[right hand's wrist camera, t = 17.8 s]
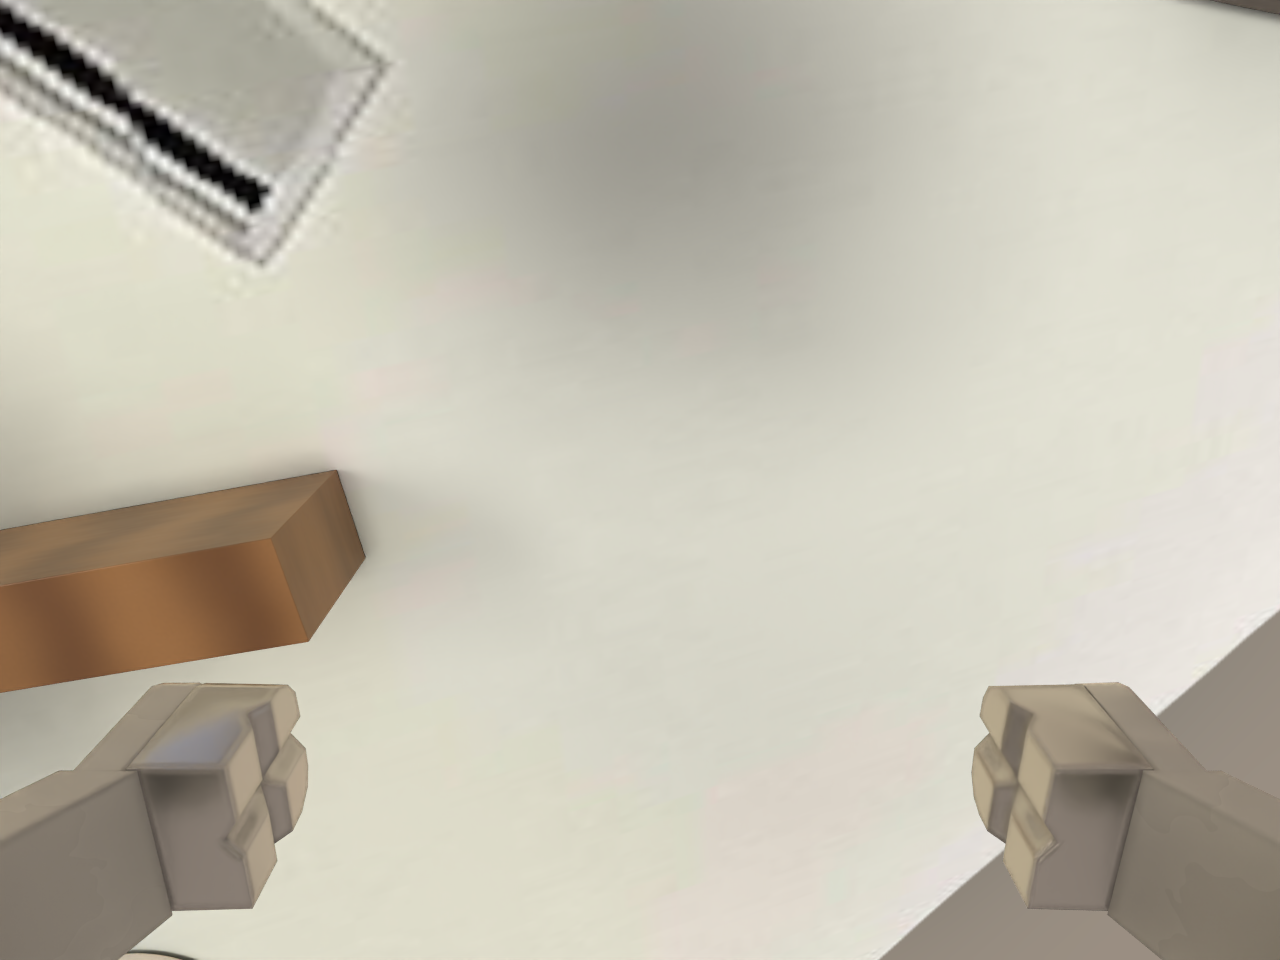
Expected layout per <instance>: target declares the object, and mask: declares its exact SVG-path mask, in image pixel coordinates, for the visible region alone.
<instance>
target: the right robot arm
mask: <svg viewBox="0 0 1280 960" xmlns="http://www.w3.org/2000/svg"><path fill="white" fill-rule="evenodd" d="M299 718H300V712H299V707H298V702H297V697H296V693H295V691H294V690H293V689H292V688H291V687H290V686H288V685H273V684H225V683H205V684H201V683H162V684H158V685H155V686H152V687H151V688H150V689H149V690H148V691H147V692H146V693H145V694H144V695H143V696H142V697H141V698H140V699H139V701H138V702H137V703H136V704H135V705H134V706H133V707H132V708H131V709H130V710H129V711H128V712H127V713H126V714H125V716H124V717H123V718H122V719H121V720H120V721H119V722H118V723H117V724H116V725H115V726H114V727H113V728H112V730H111V731H110V732H109V733H108V734H107V735H106V736H105V737H104V738H103V739H102V740H101V741H100V742H99V744H98V745H97V746H96V747H95V748H94V749H93V750H92V751H91V752H90V753H89V754H88V755H87V756H86V757H85V759H84V760H83V761H82V762H81V763H80V764H79V765H78V766H77V767H76V768H75V769H74V770H73V771H57V772H55V773H53V774H51V775H49V776H47V777H45V778H43V779H41V780H39V781H37V782H35V783H33V784H31V785H28V786H26V787H24V788H22V789H20V790H18V791H16V792H14V793H12V794H10V795H8V796H6V797H4V798H2V799H0V960H118V959H120V958H121V957H122V956H123V955H125V954H126V953H127V952H128V951H129V950H131V949H132V948H133V947H134V946H135V945H137V944H138V943H139V942H140V941H142V940H143V939H144V938H145V937H146V936H148V935H149V934H150V933H151V932H152V931H154V930H155V929H156V928H157V927H159V926H160V925H161V924H162V923H163V922H165V921H166V920H167V919H168V918H169V917H171V916H172V911H185V910H220V909H253V907H254V905H255V903H256V901H257V899H258V897H259V895H260V893H261V891H262V889H263V887H264V886H265V884H266V882H267V880H268V878H269V876H270V874H271V872H272V870H273V868H274V866H275V864H276V862H277V856H276V850H275V845H274V844H275V843H276V842H277V841H279V840H280V839H282V838H283V837H285V836H286V835H287V834H289V833H290V832H292V831H293V829H294V827H295V825H296V823H297V821H298V819H299V817H300V815H301V813H302V810H303V806H304V801H305V797H306V792H307V788H308V762H307V755H306V748H305V747H304V746H303V745H302V744H301V743H300V742H299V741H298V740H297V739H296V738H295V737H294V736H293V735H292V734H291V731H292V729H293V728H294V726H295V724H296V723H297V721H298V719H299ZM980 718H981V719H982V721H983V723H984V724H985V726H986V728H987V729H988V731H989V734H988V735H987V736H986V737H985V738H984V739H983V740H982V741H981V742H980V743H979V744H978V745H977V746H976V747H975V748H974V756H973V764H972V772H971V773H972V783H973V794H974V799H975V802H976V806H977V809H978V812H979V815H980V817H981V819H982V821H983V823H984V825H985V827H986V829H987V831H988V832H990V833H991V834H993V835H994V836H995V837H997V838H998V839H1000V840H1001V841H1003V842H1004V843H1005V844H1006V845H1005V850H1004V856H1003V862H1004V864H1005V866H1006V868H1007V870H1008V872H1009V874H1010V876H1011V878H1012V880H1013V882H1014V883H1015V885H1016V887H1017V889H1018V891H1019V893H1020V895H1021V897H1022V899H1023V901H1024V902H1025V904H1026V906H1027V908H1028V909H1059V910H1095V911H1108V915H1109V916H1110V917H1111V918H1112V919H1113V920H1115V921H1116V922H1117V923H1118V924H1119V925H1121V926H1122V927H1123V928H1124V929H1126V930H1127V931H1128V932H1129V933H1131V934H1132V935H1133V936H1134V937H1135V938H1136V939H1138V940H1139V941H1140V942H1141V943H1142V944H1144V945H1145V946H1146V947H1147V948H1149V949H1150V950H1151V951H1152V952H1153V953H1155V954H1156V955H1157V956H1158V957H1159V958H1161V959H1162V960H1280V799H1278V798H1276V797H1274V796H1272V795H1270V794H1268V793H1266V792H1264V791H1262V790H1260V789H1258V788H1256V787H1254V786H1251V785H1249V784H1247V783H1245V782H1243V781H1241V780H1239V779H1237V778H1235V777H1233V776H1231V775H1229V774H1227V773H1225V772H1223V771H1207V770H1206V769H1205V768H1204V767H1203V766H1202V765H1201V764H1200V763H1199V762H1198V761H1197V760H1196V759H1195V757H1194V756H1193V755H1192V754H1191V753H1190V752H1189V751H1188V750H1187V749H1186V748H1185V747H1184V746H1183V745H1182V743H1181V742H1180V741H1179V740H1178V739H1177V738H1176V737H1175V736H1174V735H1173V734H1172V733H1171V732H1170V731H1169V729H1168V728H1167V727H1166V726H1165V725H1164V724H1163V723H1162V722H1161V721H1160V720H1159V719H1158V718H1157V717H1156V715H1155V714H1154V713H1153V712H1152V711H1151V710H1150V709H1149V708H1148V707H1147V706H1146V705H1145V704H1144V703H1143V701H1142V700H1141V699H1140V698H1139V697H1138V696H1137V695H1136V694H1135V693H1134V692H1133V691H1132V690H1131V689H1130V687H1128V686H1125V685H1123V684H1121V683H1119V682H1111V683H1083V684H1071V685H1019V686H989V687H988V689H987V691H986V693H985V695H984V697H983V700H982V706H981V712H980Z"/></svg>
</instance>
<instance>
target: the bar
mask: <svg viewBox="0 0 1280 960" xmlns="http://www.w3.org/2000/svg"><path fill="white" fill-rule="evenodd" d="M364 560H365V556H364V552H363V549H362V546H361V543H360V540H359V537H358V534H357V531H356V528H355V525H354V522H353V519H352V516H351V513H350V510H349V507H348V504H347V501H346V498H345V495H344V492H343V489H342V486H341V482H340V479H339V476H338V473H337V471H336V470H334V471H328V472H322V473H317V474H311V475H306V476H300V477H294V478H289V479H283V480H278V481H272V482H266V483H261V484H255V485H250V486H244V487H239V488H233V489H227V490H222V491H216V492H211V493H205V494H199V495H194V496H188V497H183V498H177V499H172V500H166V501H160V502H155V503H149V504H144V505H138V506H132V507H127V508H121V509H116V510H110V511H104V512H99V513H93V514H88V515H82V516H77V517H71V518H65V519H60V520H54V521H49V522H43V523H37V524H32V525H26V526H21V527H15V528H9V529H4V530H0V693H2V692H8V691H14V690H20V689H26V688H32V687H38V686H44V685H50V684H56V683H62V682H68V681H74V680H81V679H87V678H93V677H99V676H105V675H111V674H117V673H123V672H129V671H135V670H141V669H147V668H153V667H159V666H165V665H171V664H177V663H183V662H189V661H195V660H201V659H207V658H213V657H219V656H225V655H231V654H237V653H243V652H249V651H255V650H261V649H267V648H273V647H279V646H285V645H291V644H297V643H303V642H308V641H309V640H310V639H311V637H312V636H313V634H314V633H315V632H316V630H317V629H318V627H319V626H320V624H321V623H322V621H323V620H324V618H325V617H326V615H327V614H328V612H329V611H330V609H331V608H332V607H333V605H334V604H335V602H336V601H337V599H338V598H339V596H340V595H341V593H342V592H343V590H344V589H345V587H346V586H347V585H348V583H349V582H350V580H351V579H352V577H353V576H354V574H355V573H356V571H357V570H358V568H359V567H360V565H361V564H362V562H363V561H364Z"/></svg>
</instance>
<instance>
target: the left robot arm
mask: <svg viewBox="0 0 1280 960" xmlns="http://www.w3.org/2000/svg"><path fill="white" fill-rule="evenodd" d="M118 960H181V959H177V958H174V957H169V956H164V955H157V954H146V953H129V954H125V955H123V956H122V957H121V958H120V959H118Z"/></svg>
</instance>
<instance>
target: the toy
mask: <svg viewBox="0 0 1280 960" xmlns="http://www.w3.org/2000/svg"><path fill="white" fill-rule="evenodd" d="M1212 1H1216V2H1221V3H1226V4H1231V5H1236V6H1241V7H1246V8H1251V9H1256V10H1261V11H1266V12H1271V13H1275V14H1280V0H1212Z"/></svg>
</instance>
